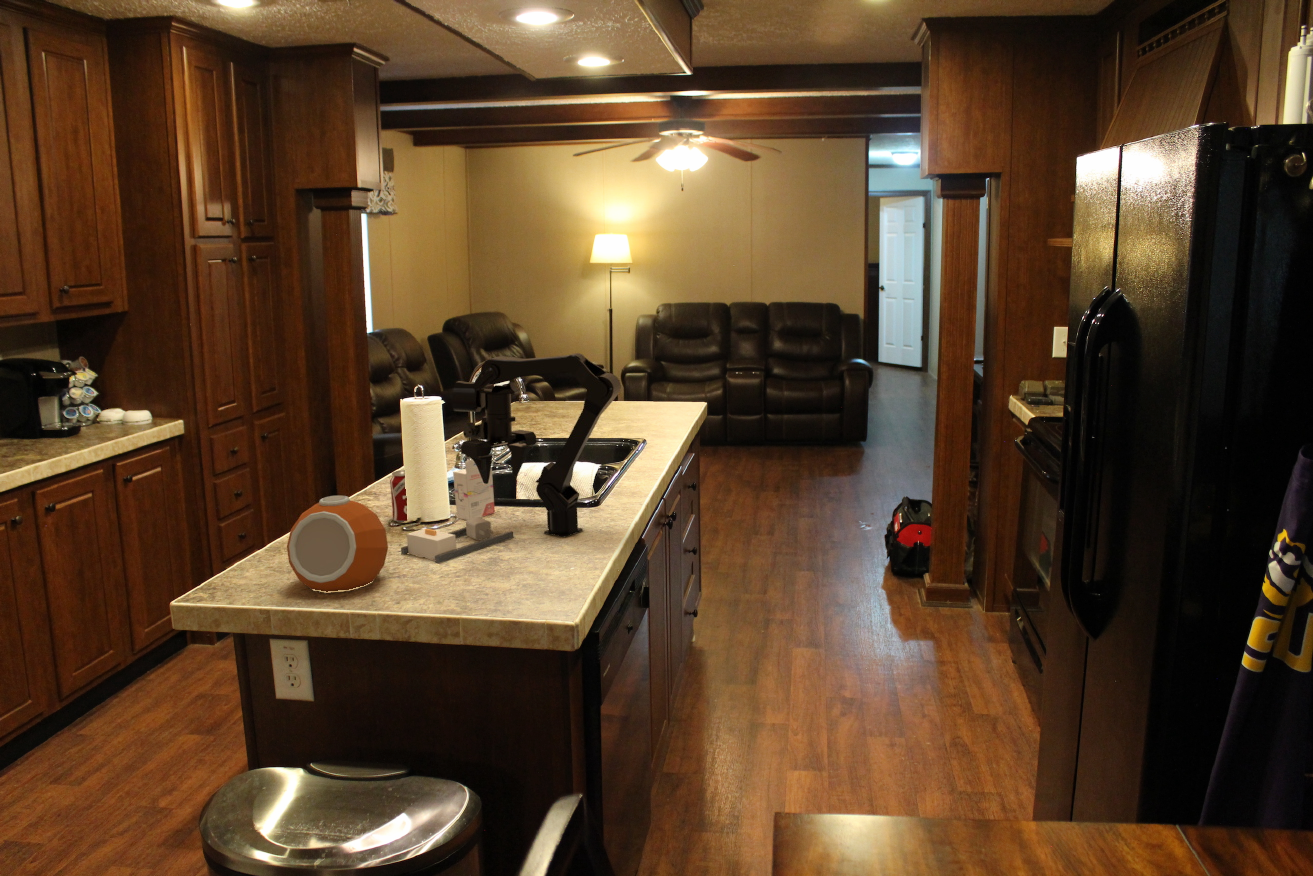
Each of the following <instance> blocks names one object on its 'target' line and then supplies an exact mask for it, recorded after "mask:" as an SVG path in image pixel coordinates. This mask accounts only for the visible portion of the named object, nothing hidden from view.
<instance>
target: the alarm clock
mask: <svg viewBox="0 0 1313 876" xmlns="http://www.w3.org/2000/svg"><path fill="white" fill-rule="evenodd" d="M318 501H319V502H317V503H315V504H314V505H312V506H311V507H310V508H308V509H307V510H305V511H304V512H302V513H301V514H300V516H299V517H298V519H297V520H296V521H295V523H294V525H293V526H292V528H291V529H290V532H289V535H288V540H287V543H286V544H287V545H286V550H287V558H288V563H289V565H290V567H291V569H292V571H293V572H294V574H295V576H296V578H297V579H298V580H299V581H300V582H301V583H302V584H303V585H305V586H307V587H308V588H309V589H310V588H311V589H315V590H321V591H326V592H328V591H338V590H349V589H353V588H356V587H360V586H364V585H366V584H368V583H370V582H372V581H373V582H374V581H375V580H376V578H377V576H378V575H379V574H380V572H381V571H382V570H383V568H384V566H385V562H386V558H387V555H388V554H387V553H388V550H389V544H388V539H387V531H386V528H385V527H384V525H383V523H382V521H381V519H380V518H379V516H378V515H377V514H376V513H375V512H374V511H372V510H371V509H370V508H369V507H368V506H366V505H364V504H363V503H360V502H358V501H355V500H351V499H350V497H349V496H346V495H330V496H325V497H323V498H321V499H319V500H318ZM373 582H372V583H373ZM311 589H310V590H311Z"/></svg>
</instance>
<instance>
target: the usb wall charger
mask: <svg viewBox="0 0 1313 876" xmlns="http://www.w3.org/2000/svg"><path fill="white" fill-rule="evenodd" d="M465 527H466V532H467V535H466V536H467V537H469V538H471V539H473V540H476V541H481V540H484V539H487V538H490V537H492V534H494V531H493V530H492V524H491V522H490V521H489V520H487V519H485V518H483V517H478V518H473V519H468V520H466V521H465Z"/></svg>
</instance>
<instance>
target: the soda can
mask: <svg viewBox="0 0 1313 876" xmlns="http://www.w3.org/2000/svg"><path fill="white" fill-rule="evenodd" d="M405 470H406V469H401V470H395V471H393V472H391V475H392V476H391V478H390V480H389V484H390V486H389V487H390V499H391V510H392V520H393V521H395V522H397V521H398V522H404V521H407V496H406V489H405ZM398 522H397V523H398Z"/></svg>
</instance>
